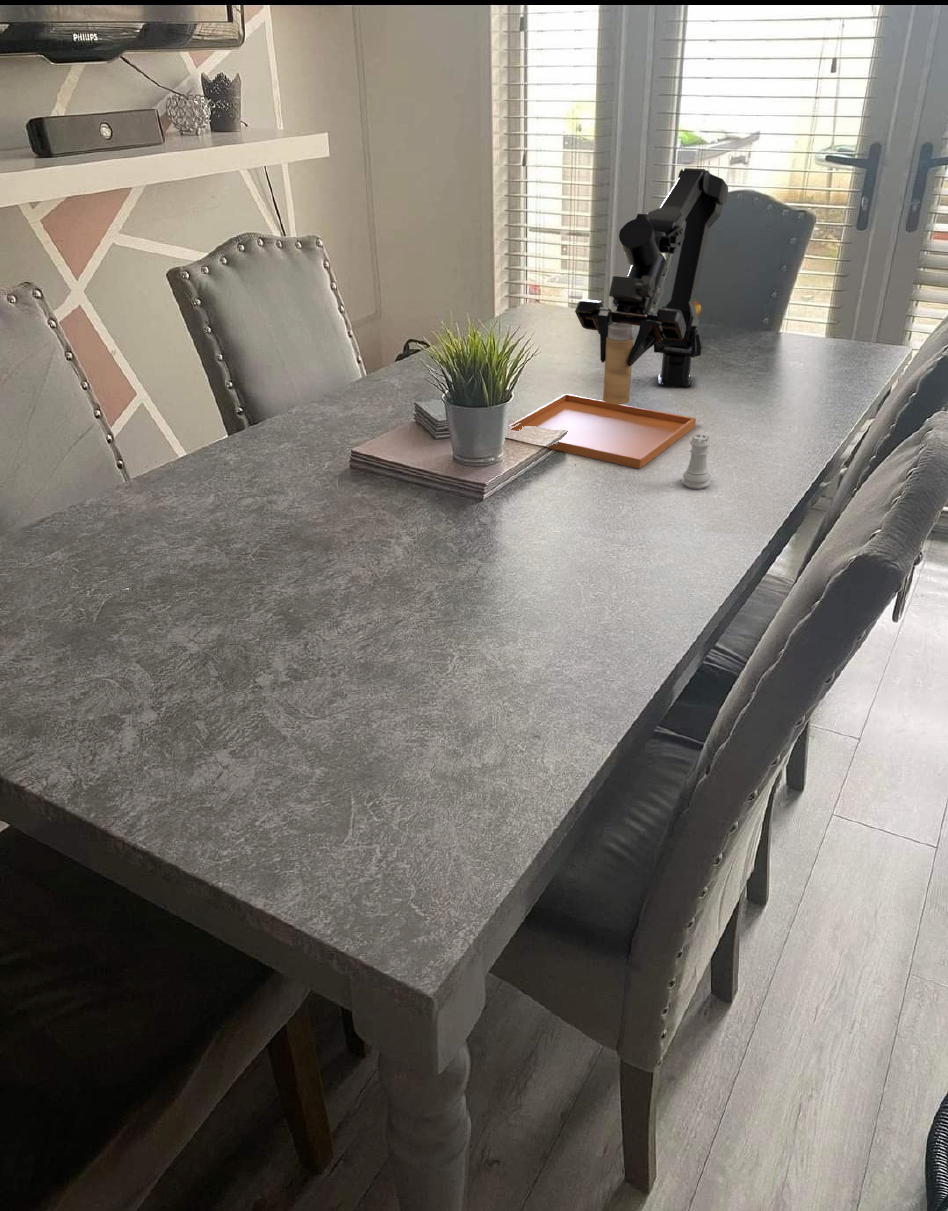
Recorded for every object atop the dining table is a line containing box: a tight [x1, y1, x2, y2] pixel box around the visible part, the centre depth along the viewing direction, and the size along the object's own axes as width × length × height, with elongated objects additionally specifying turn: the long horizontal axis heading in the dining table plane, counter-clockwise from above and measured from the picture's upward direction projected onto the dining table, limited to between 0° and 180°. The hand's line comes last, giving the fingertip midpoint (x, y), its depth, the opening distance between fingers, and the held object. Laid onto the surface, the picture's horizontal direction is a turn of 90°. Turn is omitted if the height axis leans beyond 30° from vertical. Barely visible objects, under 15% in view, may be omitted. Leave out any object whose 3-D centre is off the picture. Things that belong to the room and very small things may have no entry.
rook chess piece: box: [681, 433, 712, 490], centre depth 151 cm, size 4×4×8 cm
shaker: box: [602, 323, 634, 405], centre depth 166 cm, size 5×5×13 cm
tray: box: [509, 393, 697, 470], centre depth 174 cm, size 23×27×2 cm
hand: (615, 363), depth 165 cm, fingers closed on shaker, 4 cm apart
